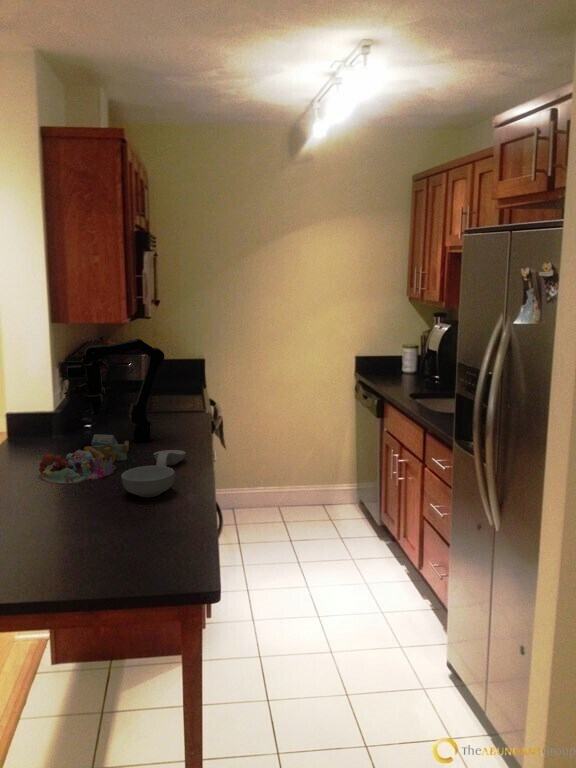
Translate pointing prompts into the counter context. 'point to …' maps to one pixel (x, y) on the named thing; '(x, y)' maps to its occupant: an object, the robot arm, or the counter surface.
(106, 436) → the medicine box
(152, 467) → the cereal bowl
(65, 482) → the candy landscape model
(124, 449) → the pair of wooden bars
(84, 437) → the counter surface
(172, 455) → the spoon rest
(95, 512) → the counter surface
